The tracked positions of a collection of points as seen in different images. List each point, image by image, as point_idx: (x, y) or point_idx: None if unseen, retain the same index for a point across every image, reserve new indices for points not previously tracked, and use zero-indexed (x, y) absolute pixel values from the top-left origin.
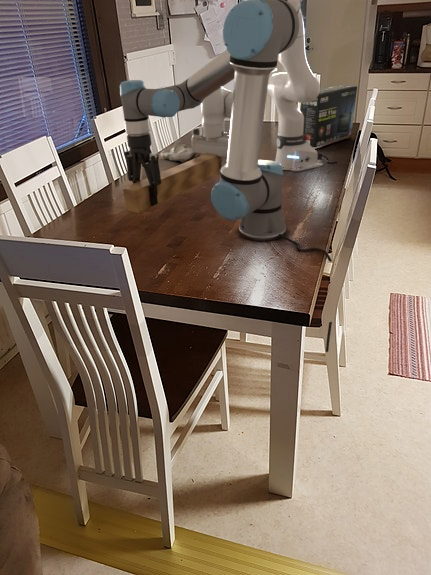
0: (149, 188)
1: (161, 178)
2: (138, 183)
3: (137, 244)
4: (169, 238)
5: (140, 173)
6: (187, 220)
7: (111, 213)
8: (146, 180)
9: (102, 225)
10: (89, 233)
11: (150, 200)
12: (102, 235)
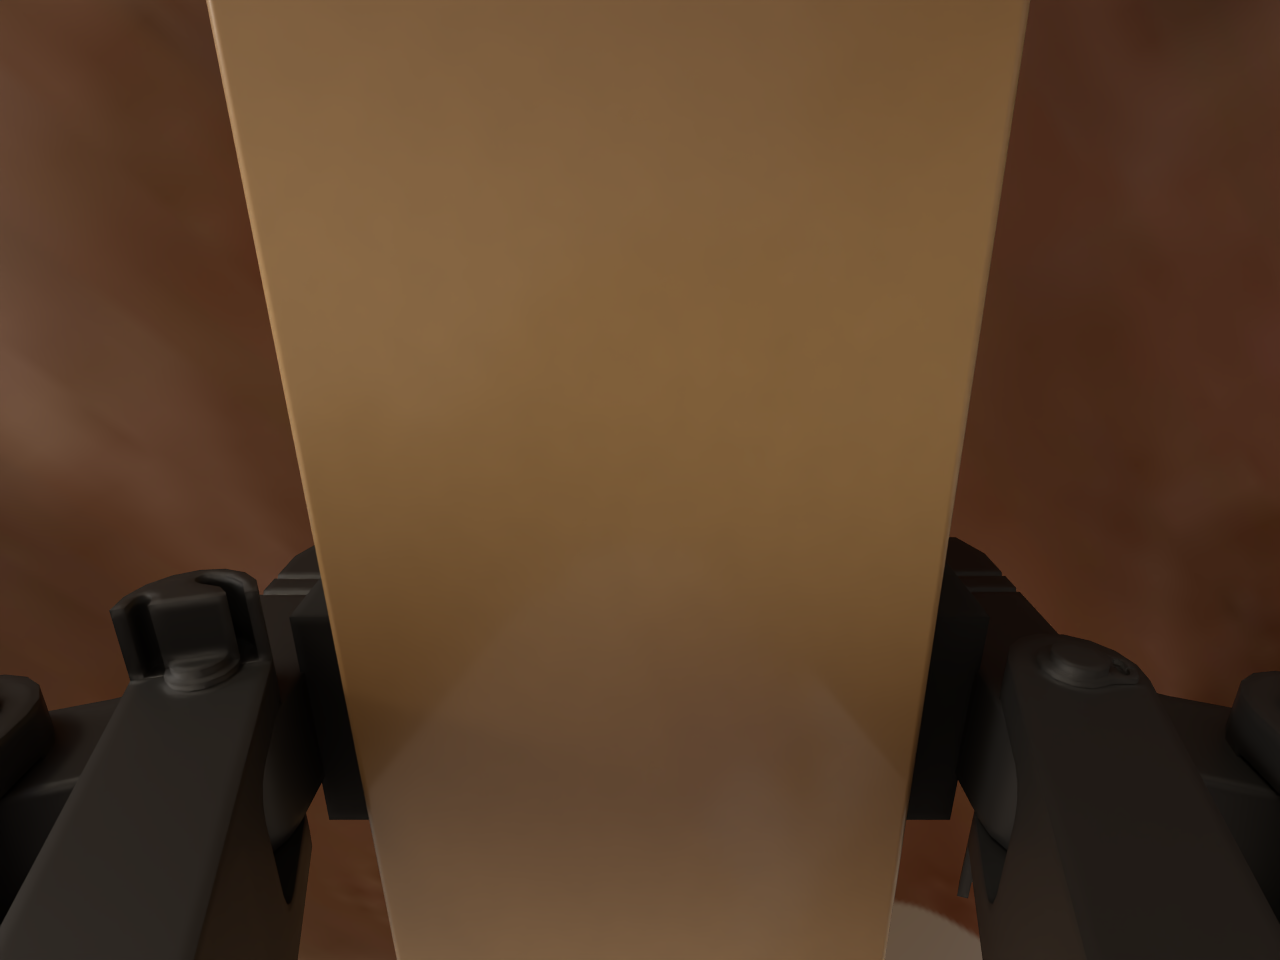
0: (915, 796)
1: (925, 82)
2: (518, 894)
3: (912, 831)
4: (1134, 609)
5: (207, 898)
6: (1091, 72)
7: (5, 467)
8: (510, 597)
9: None
10: (348, 894)
11: None
12: None
